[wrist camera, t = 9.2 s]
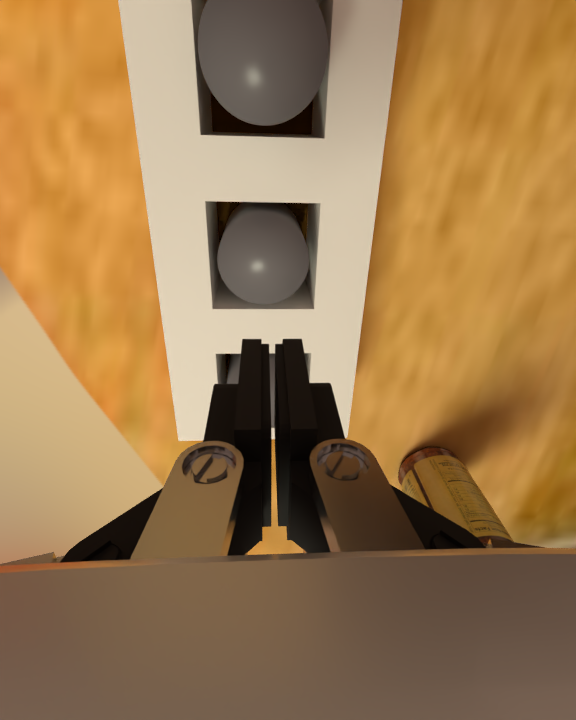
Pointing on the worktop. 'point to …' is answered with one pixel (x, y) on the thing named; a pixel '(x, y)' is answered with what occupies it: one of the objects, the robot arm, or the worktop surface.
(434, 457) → the sauce bottle
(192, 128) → the button panel
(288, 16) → the near cap
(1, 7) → the worktop surface
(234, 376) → the far cap
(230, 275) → the middle cap
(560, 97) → the worktop surface
